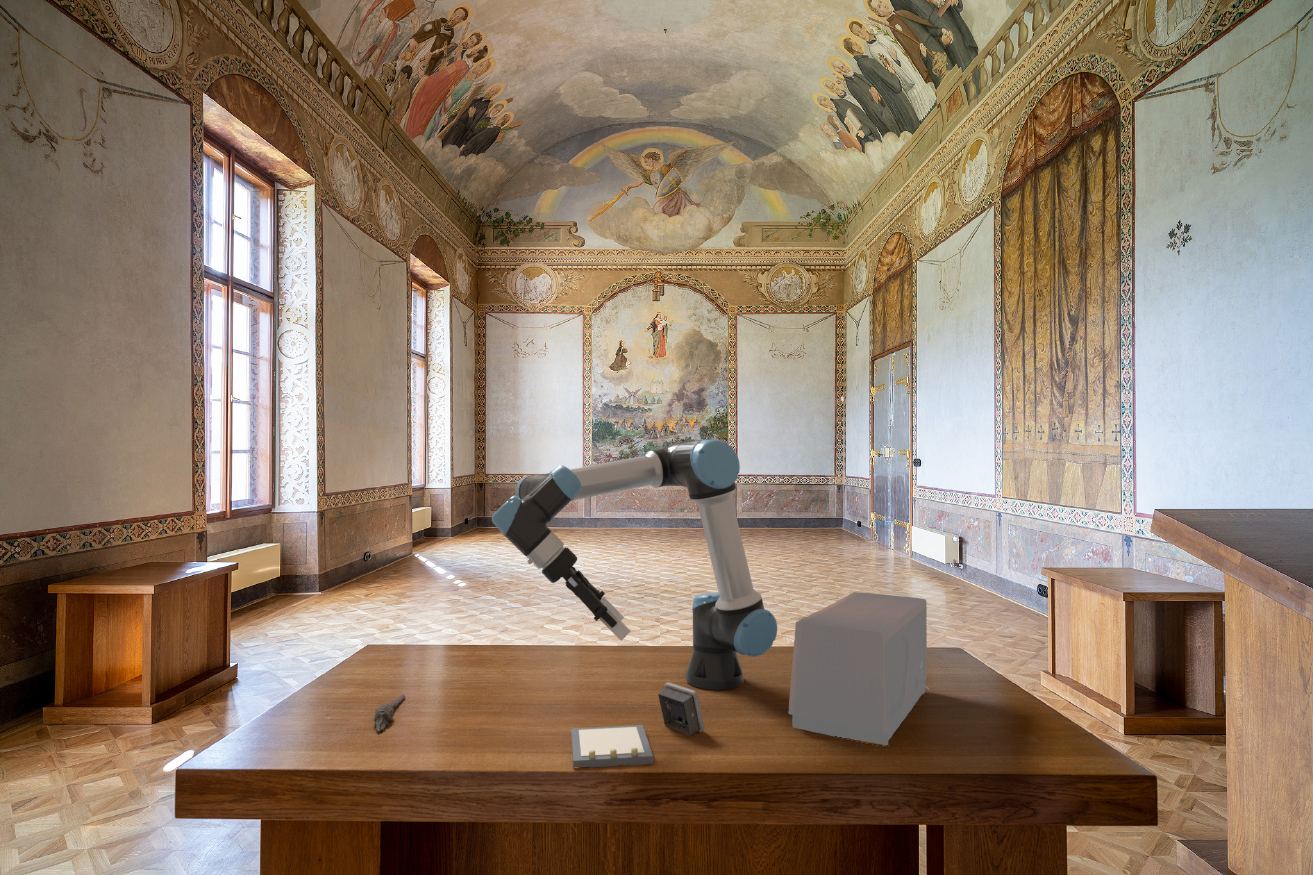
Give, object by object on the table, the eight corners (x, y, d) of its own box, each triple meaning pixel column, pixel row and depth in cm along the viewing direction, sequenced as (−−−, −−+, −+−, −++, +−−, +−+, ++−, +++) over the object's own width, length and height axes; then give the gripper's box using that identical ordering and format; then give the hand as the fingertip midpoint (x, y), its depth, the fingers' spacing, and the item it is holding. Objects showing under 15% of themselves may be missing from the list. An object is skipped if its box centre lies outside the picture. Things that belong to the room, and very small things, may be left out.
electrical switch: (705, 732, 142) (702, 688, 141) (689, 741, 138) (685, 696, 138) (674, 720, 148) (671, 679, 148) (657, 729, 145) (654, 686, 145)
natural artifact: (371, 741, 140) (360, 725, 140) (402, 700, 162) (392, 687, 162) (387, 730, 140) (376, 714, 140) (415, 691, 163) (405, 677, 162)
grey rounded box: (848, 678, 180) (848, 590, 182) (937, 694, 168) (936, 599, 169) (781, 729, 143) (781, 618, 145) (888, 755, 131) (887, 633, 132)
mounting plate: (642, 731, 142) (642, 719, 142) (653, 763, 126) (653, 749, 126) (571, 735, 139) (571, 722, 139) (573, 768, 124) (573, 754, 124)
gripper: (541, 563, 153) (606, 628, 154) (538, 579, 128) (615, 656, 129) (565, 540, 154) (629, 604, 155) (566, 551, 129) (642, 628, 131)
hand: (622, 628), depth 142 cm, fingers open, 13 cm apart
